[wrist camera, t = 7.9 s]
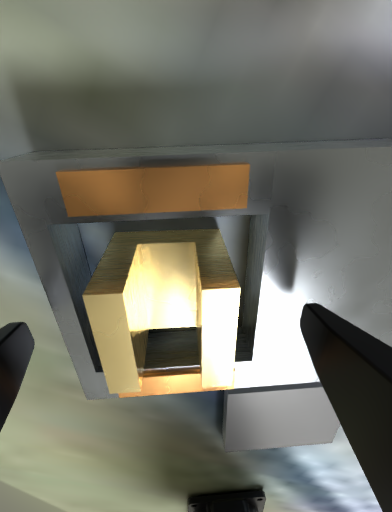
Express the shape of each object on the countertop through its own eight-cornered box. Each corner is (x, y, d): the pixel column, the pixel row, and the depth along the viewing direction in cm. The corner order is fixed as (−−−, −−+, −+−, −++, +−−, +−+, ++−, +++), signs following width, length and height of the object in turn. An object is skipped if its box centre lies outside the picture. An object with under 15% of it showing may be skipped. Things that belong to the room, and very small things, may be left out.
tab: (324, 426, 18) (331, 442, 17) (222, 435, 17) (224, 452, 16) (346, 368, 15) (357, 384, 14) (224, 377, 14) (227, 394, 14)
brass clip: (215, 306, 12) (231, 385, 9) (129, 311, 12) (109, 393, 8) (218, 227, 10) (240, 288, 7) (115, 231, 10) (82, 295, 6)
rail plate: (419, 338, 14) (458, 375, 12) (99, 361, 13) (85, 404, 11) (532, 133, 9) (628, 138, 7) (33, 151, 8) (-10, 163, 6)
